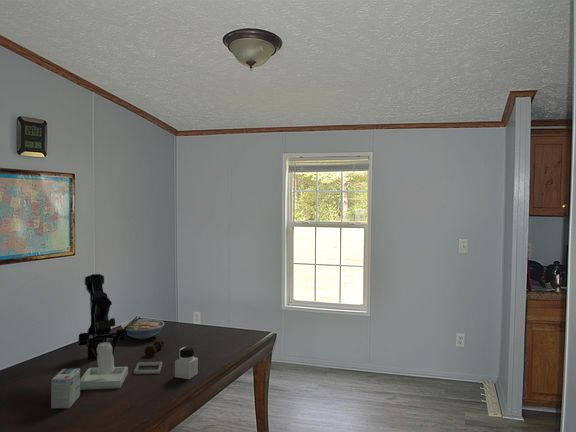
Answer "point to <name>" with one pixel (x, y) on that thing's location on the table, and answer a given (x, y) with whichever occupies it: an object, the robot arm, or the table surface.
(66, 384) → the light bulb box
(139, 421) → the table surface
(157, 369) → the grey square frame
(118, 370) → the tray
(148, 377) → the table surface
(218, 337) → the table surface
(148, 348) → the bolt
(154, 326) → the ramen bowl
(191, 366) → the medicine bottle
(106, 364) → the beverage can
